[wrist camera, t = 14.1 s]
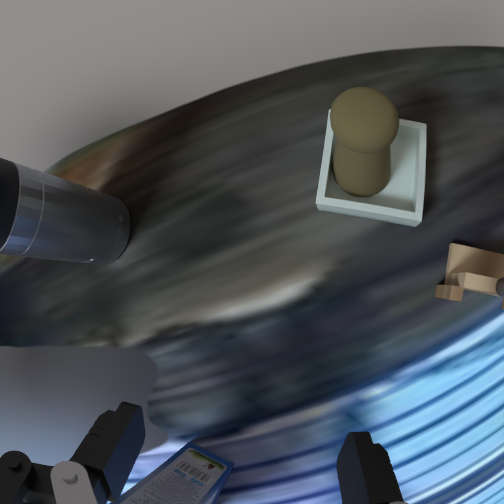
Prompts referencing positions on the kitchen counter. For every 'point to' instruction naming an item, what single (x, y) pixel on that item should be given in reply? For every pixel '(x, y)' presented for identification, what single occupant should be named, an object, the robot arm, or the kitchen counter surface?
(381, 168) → the cork
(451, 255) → the bracket
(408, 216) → the tray
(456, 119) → the kitchen counter surface
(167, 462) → the milk carton
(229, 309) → the kitchen counter surface
